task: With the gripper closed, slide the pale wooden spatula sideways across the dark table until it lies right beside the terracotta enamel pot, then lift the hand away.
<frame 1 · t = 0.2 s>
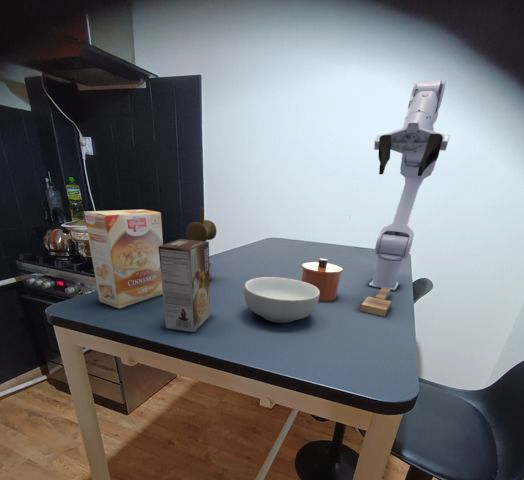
hand: (400, 171, 66), 31 cm above the table, tool tilted 45°, fingers open, 7 cm apart
pot: (317, 295, 89), on the table
cereal bowl: (279, 317, 73), on the table
pot lid: (321, 268, 85), point 7 cm above the table, touching pot
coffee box: (189, 323, 67), on the table
coffeecake box: (135, 298, 78), on the table
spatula: (378, 304, 86), on the table
kendama: (203, 280, 95), on the table
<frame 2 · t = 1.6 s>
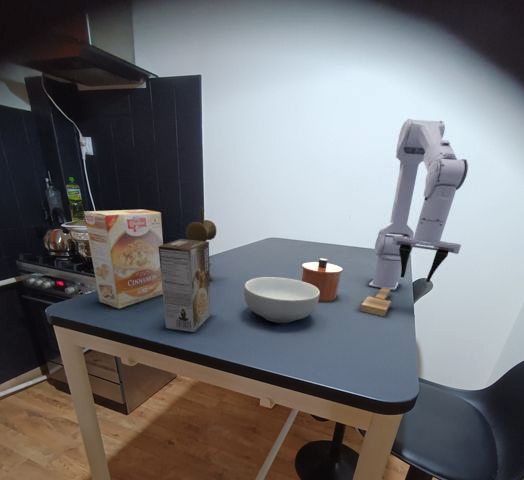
hand: (414, 278, 79), 8 cm above the table, tool pointing down, fingers open, 5 cm apart
nothing on the table moved.
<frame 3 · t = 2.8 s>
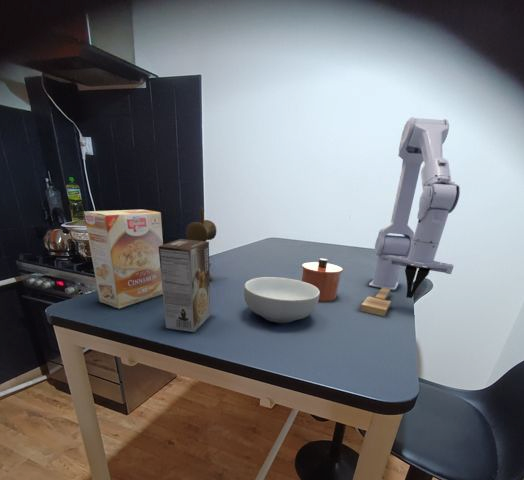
hand: (409, 296, 81), 4 cm above the table, tool pointing down, fingers closed
nothing on the table moved.
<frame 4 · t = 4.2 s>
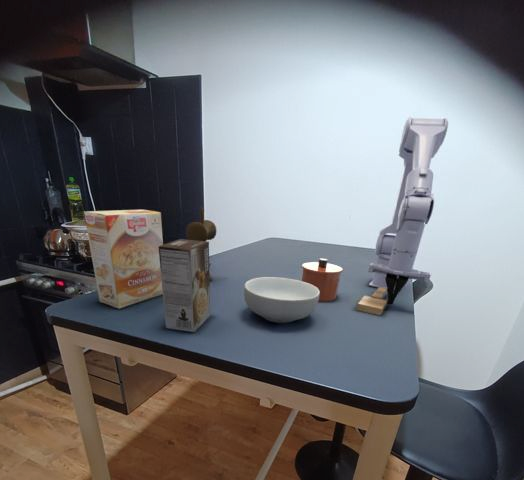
hand: (390, 303, 84), 1 cm above the table, tool pointing down, fingers closed
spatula: (375, 303, 86), on the table, touching gripper
everything else where it was.
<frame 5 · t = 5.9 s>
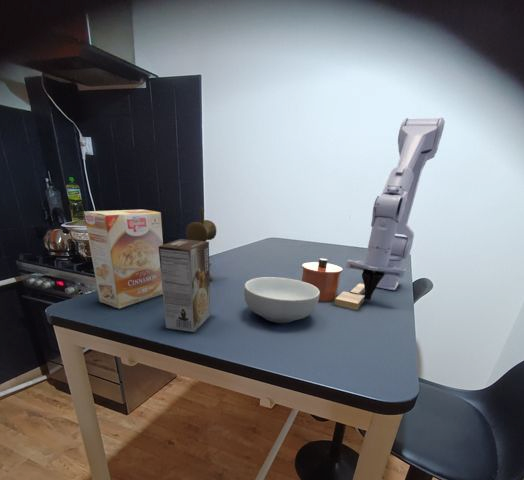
hand: (367, 298, 86), 1 cm above the table, tool pointing down, fingers closed
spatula: (353, 298, 88), on the table, touching gripper
everything else where it was.
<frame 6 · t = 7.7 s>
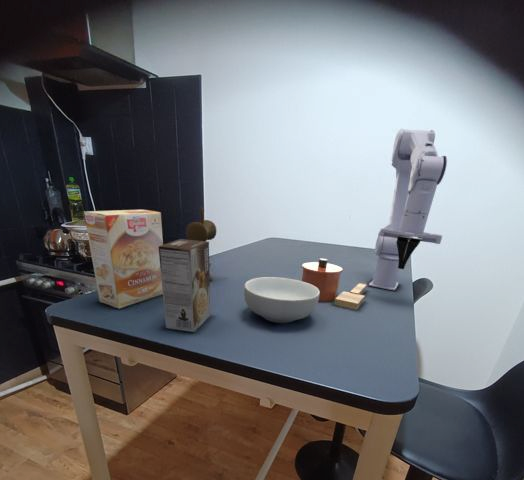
hand: (401, 268, 84), 9 cm above the table, tool pointing down, fingers closed
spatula: (353, 298, 88), on the table
everything else where it was.
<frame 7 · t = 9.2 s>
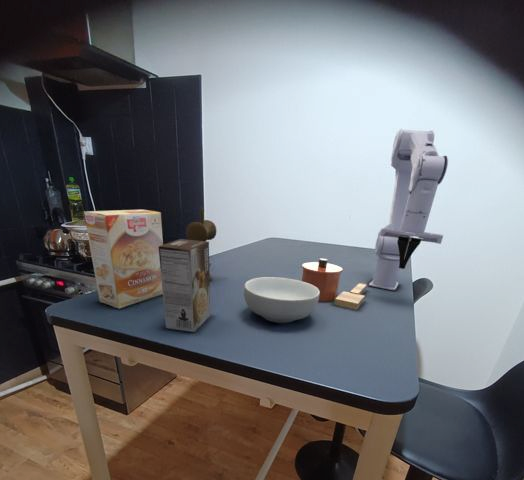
hand: (401, 267, 84), 9 cm above the table, tool pointing down, fingers closed
nothing on the table moved.
at the end: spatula inside the target area (0.2 cm from its centre), on the table; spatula 10.0 cm from the pot (horizontally); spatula tilted 0° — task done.
